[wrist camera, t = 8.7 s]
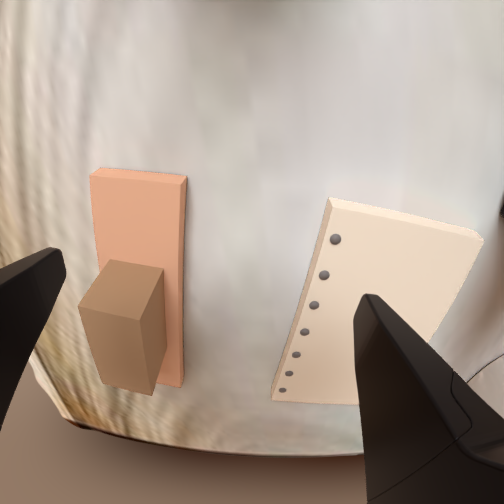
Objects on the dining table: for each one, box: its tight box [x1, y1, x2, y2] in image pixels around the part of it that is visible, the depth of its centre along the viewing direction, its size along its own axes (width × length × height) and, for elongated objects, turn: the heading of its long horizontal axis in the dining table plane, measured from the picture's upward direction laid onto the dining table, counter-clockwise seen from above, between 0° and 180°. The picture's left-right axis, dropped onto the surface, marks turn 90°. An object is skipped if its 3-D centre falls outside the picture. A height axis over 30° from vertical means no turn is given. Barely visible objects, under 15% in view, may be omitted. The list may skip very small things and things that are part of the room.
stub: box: [78, 168, 187, 396], centre depth 21 cm, size 6×20×6 cm, turn 172°
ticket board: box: [271, 197, 484, 404], centre depth 24 cm, size 12×20×2 cm, turn 172°
